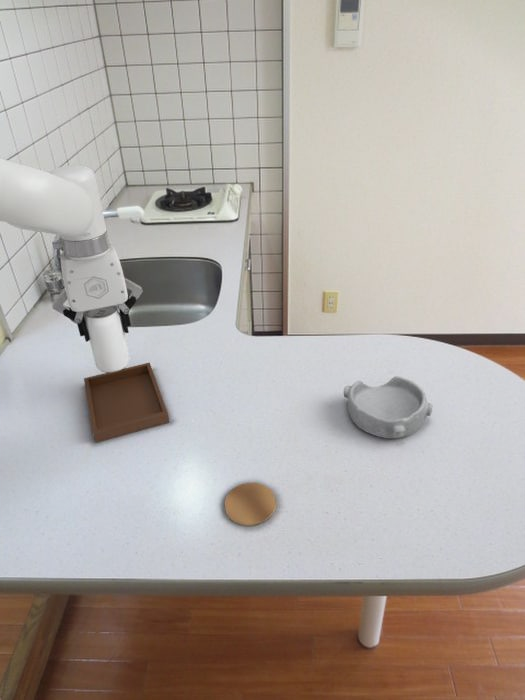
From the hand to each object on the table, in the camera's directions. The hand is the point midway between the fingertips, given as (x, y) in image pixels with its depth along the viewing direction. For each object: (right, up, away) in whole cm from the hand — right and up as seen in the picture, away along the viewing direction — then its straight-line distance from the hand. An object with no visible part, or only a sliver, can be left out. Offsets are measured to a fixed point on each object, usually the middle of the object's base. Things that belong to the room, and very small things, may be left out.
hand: (106, 333), depth 98 cm
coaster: (+27, -27, -16) cm, 42 cm away
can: (0, -6, +4) cm, 7 cm away
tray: (+2, -14, +6) cm, 15 cm away
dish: (+52, -16, 0) cm, 55 cm away
